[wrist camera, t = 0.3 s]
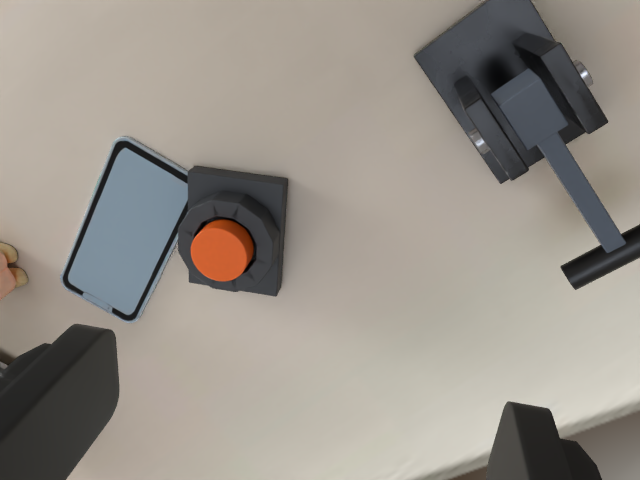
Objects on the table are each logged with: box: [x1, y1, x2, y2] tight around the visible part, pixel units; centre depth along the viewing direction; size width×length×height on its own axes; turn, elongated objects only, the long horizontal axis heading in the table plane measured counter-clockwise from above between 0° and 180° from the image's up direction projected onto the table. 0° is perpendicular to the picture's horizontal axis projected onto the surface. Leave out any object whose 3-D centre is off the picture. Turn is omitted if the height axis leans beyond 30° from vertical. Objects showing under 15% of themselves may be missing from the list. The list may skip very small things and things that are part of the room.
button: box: [191, 219, 254, 281], centre depth 38 cm, size 4×4×2 cm
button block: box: [178, 166, 288, 296], centre depth 40 cm, size 9×7×4 cm
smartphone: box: [60, 136, 188, 323], centre depth 44 cm, size 7×1×15 cm
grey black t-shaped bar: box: [491, 68, 640, 290], centre depth 29 cm, size 12×6×2 cm, turn 38°
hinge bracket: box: [414, 0, 608, 184], centre depth 30 cm, size 10×7×10 cm
